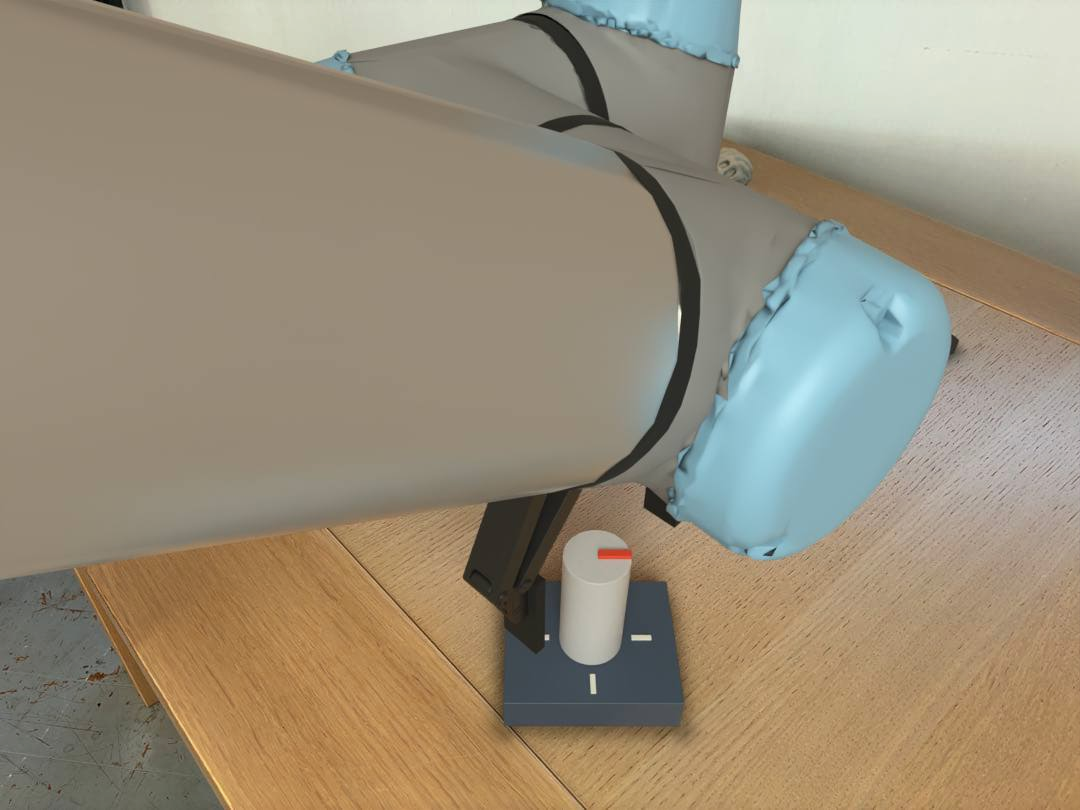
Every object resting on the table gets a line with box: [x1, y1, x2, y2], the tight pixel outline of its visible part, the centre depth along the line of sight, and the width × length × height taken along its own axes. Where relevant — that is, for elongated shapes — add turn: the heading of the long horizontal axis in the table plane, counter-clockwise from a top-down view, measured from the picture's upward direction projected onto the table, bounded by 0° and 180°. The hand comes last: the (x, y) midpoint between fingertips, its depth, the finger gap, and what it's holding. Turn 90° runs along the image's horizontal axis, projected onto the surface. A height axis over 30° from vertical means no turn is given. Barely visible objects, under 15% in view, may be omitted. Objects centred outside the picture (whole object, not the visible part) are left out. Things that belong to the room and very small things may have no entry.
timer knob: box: [559, 529, 633, 665], centre depth 55 cm, size 4×4×9 cm
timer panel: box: [502, 580, 685, 727], centre depth 59 cm, size 12×10×3 cm
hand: (597, 572), depth 54 cm, fingers open, 13 cm apart
